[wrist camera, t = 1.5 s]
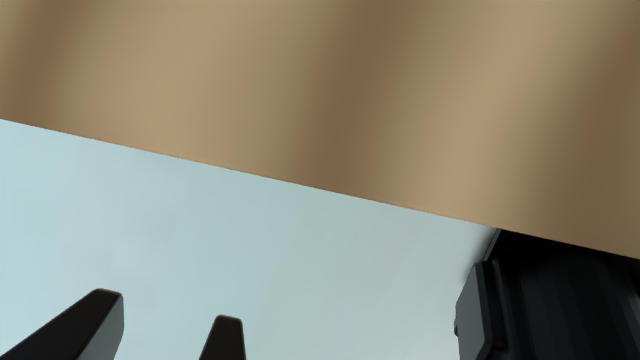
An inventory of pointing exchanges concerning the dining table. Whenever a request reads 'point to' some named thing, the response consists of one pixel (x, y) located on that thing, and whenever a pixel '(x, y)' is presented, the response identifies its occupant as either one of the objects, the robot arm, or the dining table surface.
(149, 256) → the dining table surface
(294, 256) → the dining table surface
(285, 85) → the oak plank
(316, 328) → the dining table surface
